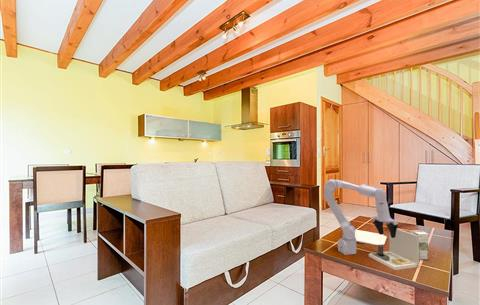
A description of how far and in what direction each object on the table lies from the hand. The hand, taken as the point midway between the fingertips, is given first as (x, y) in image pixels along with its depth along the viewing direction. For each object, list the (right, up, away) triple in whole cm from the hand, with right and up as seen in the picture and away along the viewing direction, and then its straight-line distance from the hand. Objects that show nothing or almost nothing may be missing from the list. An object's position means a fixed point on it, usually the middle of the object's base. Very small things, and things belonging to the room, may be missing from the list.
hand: (387, 235), depth 124 cm
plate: (+5, -15, +33) cm, 36 cm away
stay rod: (-4, -12, -1) cm, 13 cm away
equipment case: (0, -13, -4) cm, 14 cm away
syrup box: (+20, -13, +3) cm, 24 cm away
